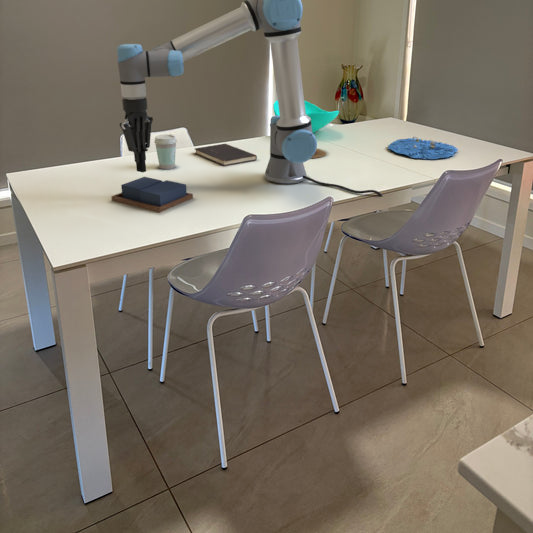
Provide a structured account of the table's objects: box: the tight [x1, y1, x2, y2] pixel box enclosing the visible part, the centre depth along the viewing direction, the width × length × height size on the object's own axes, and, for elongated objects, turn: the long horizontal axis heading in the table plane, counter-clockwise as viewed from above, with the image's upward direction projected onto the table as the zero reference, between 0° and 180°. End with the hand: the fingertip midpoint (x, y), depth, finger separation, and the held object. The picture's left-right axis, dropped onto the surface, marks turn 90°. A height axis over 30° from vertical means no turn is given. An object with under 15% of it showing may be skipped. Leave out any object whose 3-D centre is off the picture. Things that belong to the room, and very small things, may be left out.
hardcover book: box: [194, 143, 258, 167], centre depth 244 cm, size 16×23×2 cm
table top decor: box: [272, 99, 340, 134], centre depth 284 cm, size 40×28×13 cm
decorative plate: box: [387, 136, 459, 160], centre depth 256 cm, size 30×30×5 cm
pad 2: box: [140, 179, 188, 207], centre depth 191 cm, size 8×13×5 cm, turn 148°
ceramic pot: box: [310, 148, 327, 159], centre depth 250 cm, size 18×18×7 cm
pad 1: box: [120, 176, 163, 202], centre depth 195 cm, size 8×11×5 cm
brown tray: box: [111, 192, 194, 213], centre depth 194 cm, size 21×17×2 cm
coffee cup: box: [154, 134, 178, 170], centre depth 228 cm, size 8×9×12 cm
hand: (141, 171), depth 193 cm, fingers closed
